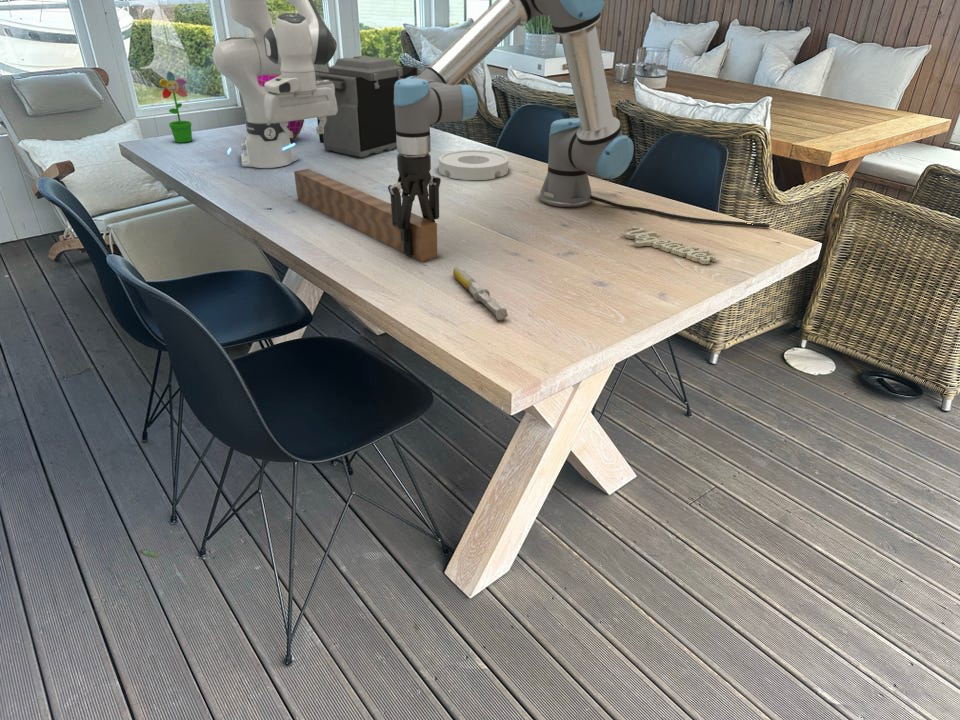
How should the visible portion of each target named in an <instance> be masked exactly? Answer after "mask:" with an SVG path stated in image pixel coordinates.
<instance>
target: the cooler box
mask: <svg viewBox="0 0 960 720" xmlns="http://www.w3.org/2000/svg"><path fill="white" fill-rule="evenodd" d="M415 75H416V76H419V68H418V67H417V66H408V65H400V64H396V62H395V60H394V59H393V58H385V57H377V56H367V55H356V56H353V57H350V58H349V57H343V58H342V57H341V58H337V59H336V60H335V63H334V64H333V65H330V66H329V67H328V72H327V71H320V70H315V77H316V81H317V80H329V81H331V82H332V83H333V84H334V87H335V97H336V102H337V107H338V111H337V113H336V115H332V116H326V118H327V121H326V123H325V126H324V133H323V134H318V138H319V143H320V144H323V146H324V149H325V150H327V151H330V152H335V153H340V154H344V155H348V156H353V157H357V158H362V159H363V158H366V157H367V158H368V157H369V155H371V154H375V155H377V154H381V153H382V152H383V151H391V150H395V149H396V148H397V143H396V123H395V106H394V85H395V83H396V82H397V81H398V80H400V79H406V78H408V77H410V76H415ZM329 84H330V83H329ZM316 119H317V126H319V123H320V120H319V118H316Z"/></svg>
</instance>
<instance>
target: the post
mask: <svg viewBox="0 0 960 720" xmlns="http://www.w3.org/2000/svg"><path fill="white" fill-rule="evenodd" d="M293 174H294V180H295V181H294V182H295V189H296V197H297V201H298V202H300V203H302V204H304V205H306V206H308V207H311V208H312V209H315V210H316V211H318V212H320V213H323V214H324V215H326V216H329V217H331V218H332V219H335V220H337V221H338V222H341V223H343V224H345V225H347V226H349V227H350V228H352V229H355V230H357V231H359V232H361V233H362V234H365V235H366V236H369V237H371V238H372V239H375V240H377V241H379V242H381V243H383V244H385V245H387V246H389V247H391V248H393V249H395V250H397V251H399V252H400V253H403V254H405V253H404V246H403V242H402V241H401V235H400V229H399V228H396V227H394V226H393V225H392V211H391V202H388V201H385V200H383V199H381V198H378V197H375V196H373V195H371V194H369V193H366V192H364V191H362V190H359V189H357V188H355V187H353V186H350V185H348V184H346V183H343V182H340V181H338V180H336V179H333V178H331V177H329V176H326V175H324V174H321V173H319V172H317V171H315V170H312V169H310V168H305V169H299V170H293ZM409 228H410V229H412V243H413V256H410V257H411V258H413V259H415V260H417V261H419V262H421V263H425V262H428V261H431V260H434V259H437V258H438V257H439V256H438V254H439V253H438V223H436V221H435V222H432V221H430V220H427V219H425V218H423V216H420V215H418V214H416V213H414V212H411V218H410V224H409Z"/></svg>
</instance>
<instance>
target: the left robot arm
mask: <svg viewBox="0 0 960 720" xmlns="http://www.w3.org/2000/svg"><path fill="white" fill-rule="evenodd" d="M283 1H285V2H287V3H289V4H290V5H292V6H293V7H294V8H295V9H296V10H297V12H298V13H294V12H284V13H281V14H279V15H277V17H276V19H275V25H274V24H273V22H272V20H271V17H270V13H269V8H268V1H267V0H228V6H229V12H230V15H231V17H232V19H233V20H234V21H235V22H236V23H238V24H240V26H243V27H245V28H248V29H250V31H251V32H252V36H253V37H252V38H231V39H227V40H223V41H220V42H217V43H216V44H215V46H213V47H214V48H213V51H212V62H213V65H214V67H215V69H216V70H217V71H218V72H219V73H220V74H221V75H222V76H223V77H225V78H227V80H228V81H230V82H231V83H232V84H233V85H234V86H235V87H236V89H237V91H238V92H239V94H240V96H241V99H242V102H243V107H244V112H245V117H246V121H245V128H246V133H247V134H246V137H245V140H244V142H240V148H241V151H243V153H241V154H240V157H241V167H243V168H244V167H245V168H247V167H249V168H257V169H272V168H273V169H274V168H280V167H285V166H288V165H290V164H292V163H294V162H297V161H298V156H296V155H294V154H293V150H292V147H294V146H296V142H293V143H291V140H292V139H291V138H293V132H292V131H289V130H288V128H287V127H286V126H288V122H289V121H296V120H303V119H304V120H310V119H317V118H319V120H320V123H319V126H318V125H317V126H315V130H316V134H318V135H319V134H323V133H324V126H325V123H326V121H327V118H326V116H332V115H336V113H337V111H338V107H337V102H336V97H335V87H334V84H333V83H332V82H331V81H329V80H317V81H316V77H315V71H316V69H315V66H314V65H317V66H318V65H321V66H325V65H327V64H328V63H329V62H330V61H331V60H332V59H333V57H334V55H335V53H336V45H335V40H334V36H333V34H332V32H331V30H330V28H329V27H328V26H327V25H326V23H325V22H324V19H323V18H322V17H321V15H320V12H319V11H318V8H317V6H316V4H315V3H314V0H283ZM278 74H281V75H279V76H278V77H276V78H274V79H272V80H270V81H267V82H266V83H265V84H264V86H261V85H260V84H259V83H258V80H257V76H263V75H278ZM329 83H330V84H329ZM284 131H285V133H284ZM290 139H291V140H290ZM293 139H294V138H293ZM231 152H232V147H229V148H228V150H227V152H226V153H227V155H230V153H231Z"/></svg>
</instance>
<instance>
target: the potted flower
mask: <svg viewBox="0 0 960 720" xmlns="http://www.w3.org/2000/svg"><path fill="white" fill-rule="evenodd" d="M165 77H166V79H164V78H161V79H159V84H158V85H159V86H160V87H161V88H164V89H163V90H162V93H161V95H162V98H163V99H169V98H170V97H171V95H172V96H173V100H174V105H175V108H170V109H169V110H168V112H169V113H171V114H173V115H177V119H178V120H176V121H175V120H174V121H171V122H169V123H168V125H169V128H170V130H171V133H172V136H173V139H174V142H175V143H180V144H181V143H189V142H192V141H193V133H192V122H191V121H189V120H181V116H180V111H179V109H180V108H181V107H182V106H183V103H181V102H179V103H178V102H177V96H176V94H177V95H178V96H179V97H183V98H184V97H188V93H187V91H186V89H184V88H183V87H184V86H185V85H186V84H187V83H188V81H187V80H186V79H185V78H183V77H182V78H181V77H180V78H176V76H175V74H174V73H173V71H170V70H168V71H167V72H166V76H165Z"/></svg>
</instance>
